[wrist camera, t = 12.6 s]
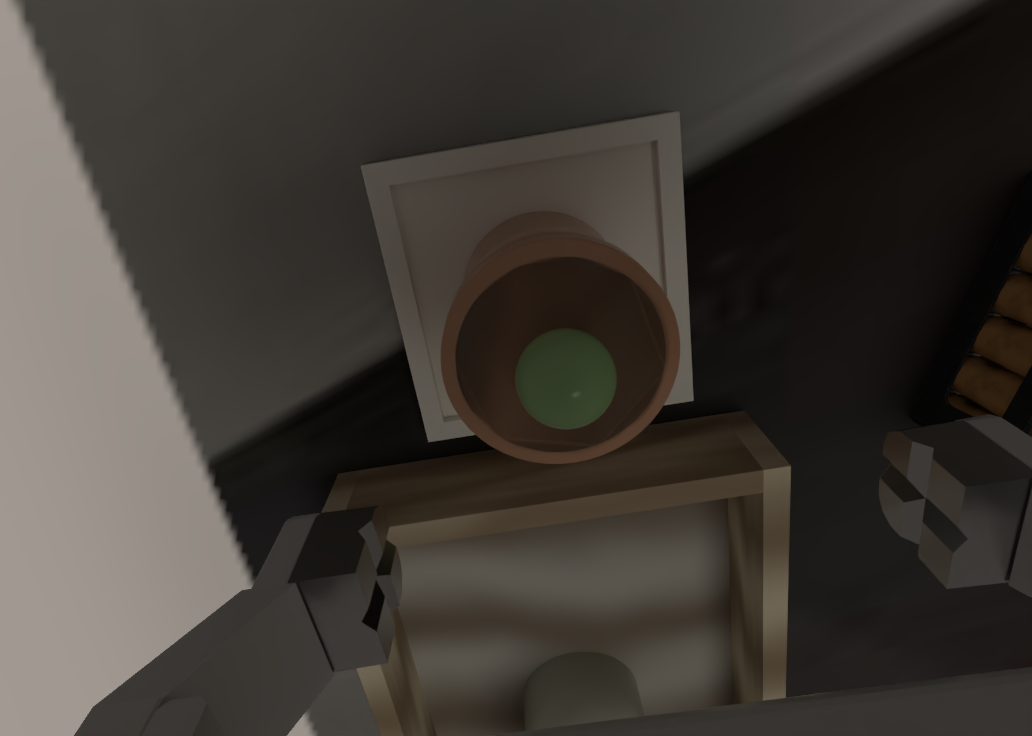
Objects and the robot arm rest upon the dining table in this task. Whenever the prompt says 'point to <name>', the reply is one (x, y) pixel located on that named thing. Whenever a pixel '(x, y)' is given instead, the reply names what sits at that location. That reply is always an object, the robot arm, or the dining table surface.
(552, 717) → the sage pot
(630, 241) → the tray
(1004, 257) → the ammunition clip
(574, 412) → the sprouted pot
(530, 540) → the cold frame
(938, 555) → the robot arm
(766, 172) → the dining table surface
